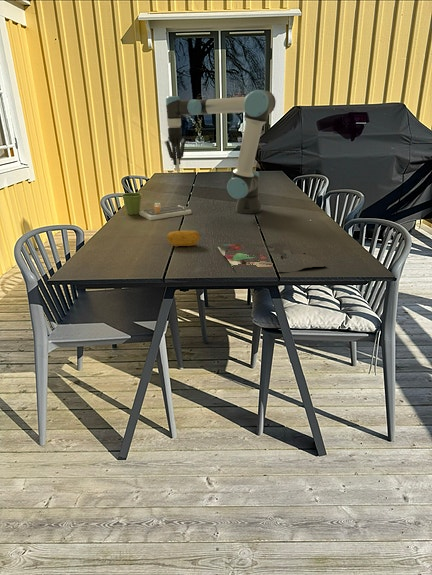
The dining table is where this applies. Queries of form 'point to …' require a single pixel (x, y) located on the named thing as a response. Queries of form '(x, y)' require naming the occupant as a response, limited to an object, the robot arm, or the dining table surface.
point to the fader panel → (165, 212)
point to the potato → (183, 238)
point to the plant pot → (132, 202)
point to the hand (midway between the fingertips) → (177, 170)
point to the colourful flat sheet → (241, 256)
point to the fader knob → (156, 209)
